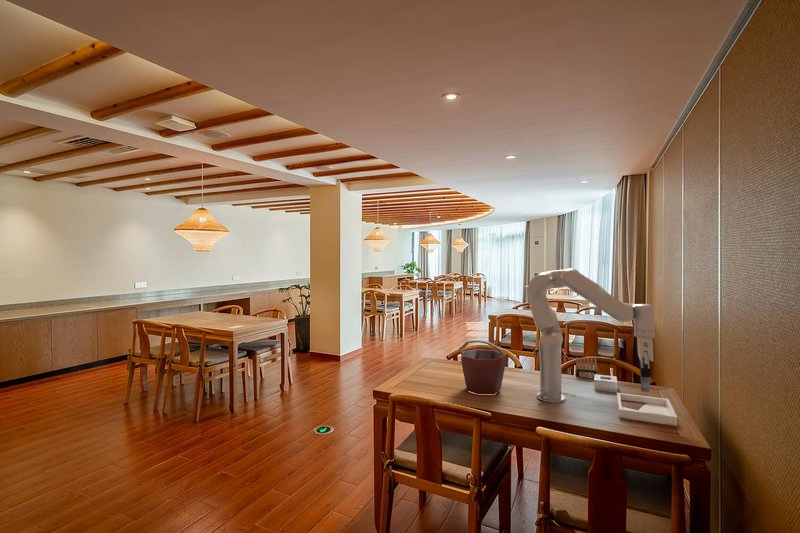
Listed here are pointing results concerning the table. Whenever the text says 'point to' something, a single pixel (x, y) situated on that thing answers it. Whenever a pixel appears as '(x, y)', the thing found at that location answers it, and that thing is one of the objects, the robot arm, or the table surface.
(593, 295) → the robot arm
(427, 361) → the table surface
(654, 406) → the tray
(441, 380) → the table surface
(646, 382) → the pin
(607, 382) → the block
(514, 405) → the table surface
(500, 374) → the bucket
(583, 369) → the ammunition clip
